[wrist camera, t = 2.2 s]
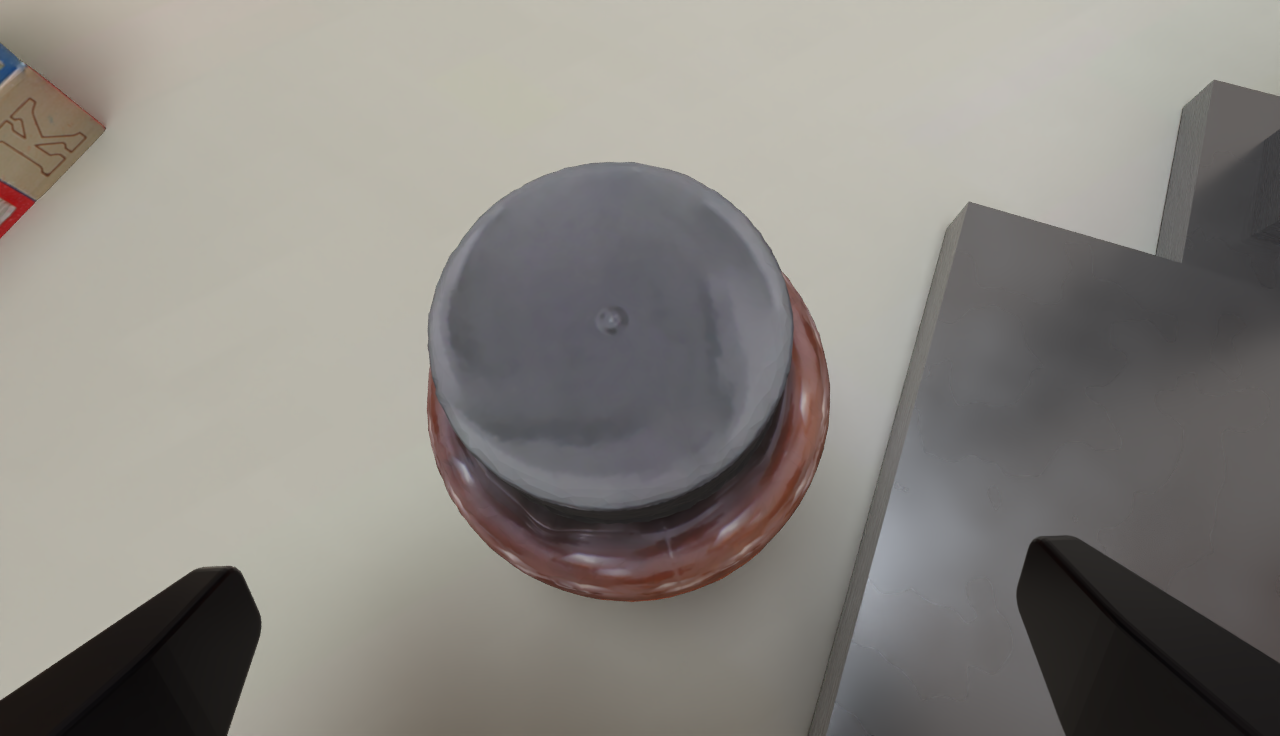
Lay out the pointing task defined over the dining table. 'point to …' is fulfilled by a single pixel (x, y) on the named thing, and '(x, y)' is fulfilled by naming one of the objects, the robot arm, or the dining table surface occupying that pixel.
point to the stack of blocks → (35, 136)
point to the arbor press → (1075, 438)
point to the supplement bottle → (623, 383)
